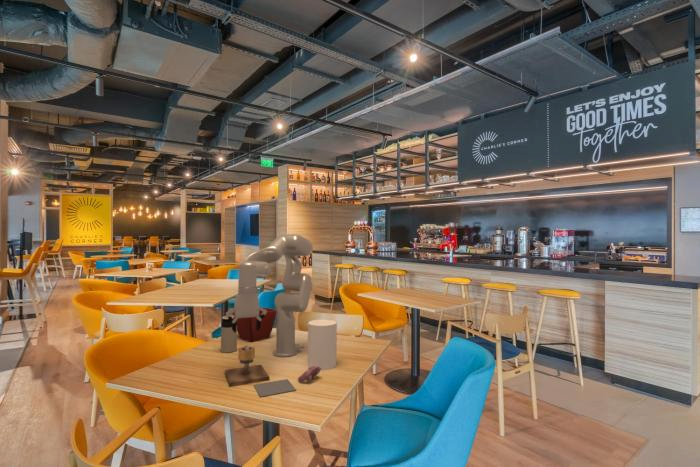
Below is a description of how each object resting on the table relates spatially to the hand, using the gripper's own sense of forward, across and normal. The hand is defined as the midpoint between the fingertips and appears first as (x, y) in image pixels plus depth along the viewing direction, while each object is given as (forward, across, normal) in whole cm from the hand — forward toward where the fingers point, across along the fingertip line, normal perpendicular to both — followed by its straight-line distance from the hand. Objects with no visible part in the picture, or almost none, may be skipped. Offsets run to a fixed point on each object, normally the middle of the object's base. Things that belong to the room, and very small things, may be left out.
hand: (246, 330), depth 153 cm
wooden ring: (+12, 0, 0) cm, 12 cm away
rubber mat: (+20, -9, +16) cm, 27 cm away
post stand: (+20, -1, -1) cm, 20 cm away
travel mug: (+19, +1, -42) cm, 46 cm away
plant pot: (+19, -16, -61) cm, 65 cm away
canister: (+20, -36, -1) cm, 41 cm away
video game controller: (+20, -24, +14) cm, 34 cm away
